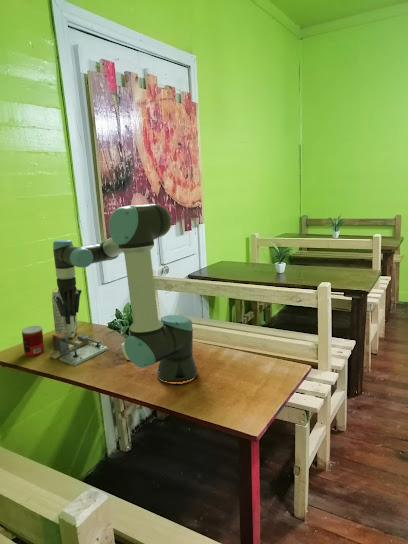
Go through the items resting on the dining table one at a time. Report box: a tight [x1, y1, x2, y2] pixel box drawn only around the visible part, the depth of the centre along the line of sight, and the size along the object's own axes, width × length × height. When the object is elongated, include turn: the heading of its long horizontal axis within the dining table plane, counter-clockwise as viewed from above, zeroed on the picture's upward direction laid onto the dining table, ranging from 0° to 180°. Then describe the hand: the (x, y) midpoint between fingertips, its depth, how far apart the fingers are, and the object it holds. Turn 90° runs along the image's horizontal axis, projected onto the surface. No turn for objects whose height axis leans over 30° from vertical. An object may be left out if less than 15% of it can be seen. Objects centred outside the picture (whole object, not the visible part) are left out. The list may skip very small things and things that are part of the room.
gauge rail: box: [49, 333, 102, 359], centre depth 171 cm, size 13×18×4 cm
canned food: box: [21, 325, 45, 358], centre depth 169 cm, size 8×8×11 cm
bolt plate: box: [59, 342, 109, 367], centre depth 169 cm, size 9×18×1 cm, turn 147°
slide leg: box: [52, 332, 79, 357], centre depth 167 cm, size 13×4×8 cm, turn 57°
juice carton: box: [51, 286, 78, 339], centre depth 186 cm, size 9×8×24 cm
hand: (71, 330), depth 172 cm, fingers closed
